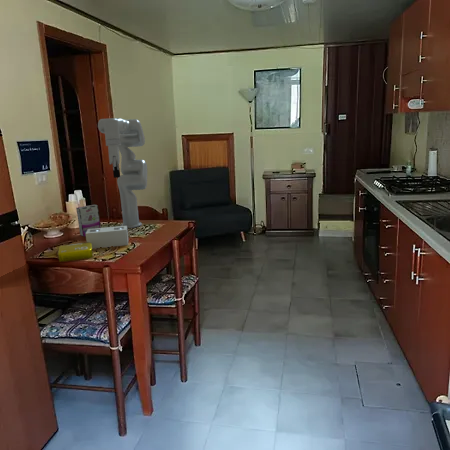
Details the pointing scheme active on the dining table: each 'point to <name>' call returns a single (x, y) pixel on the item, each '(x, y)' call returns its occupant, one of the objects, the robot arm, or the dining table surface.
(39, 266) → the dining table surface
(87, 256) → the element tile
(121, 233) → the pin block
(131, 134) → the robot arm
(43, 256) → the dining table surface
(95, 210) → the candy bar box
